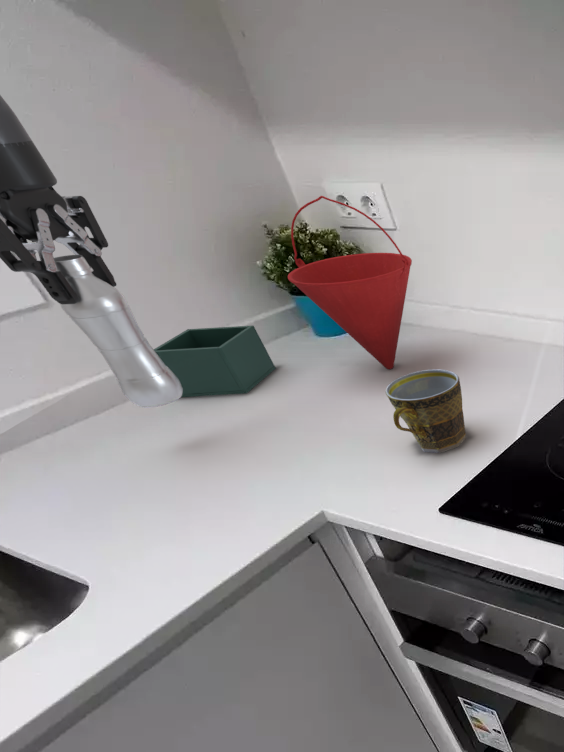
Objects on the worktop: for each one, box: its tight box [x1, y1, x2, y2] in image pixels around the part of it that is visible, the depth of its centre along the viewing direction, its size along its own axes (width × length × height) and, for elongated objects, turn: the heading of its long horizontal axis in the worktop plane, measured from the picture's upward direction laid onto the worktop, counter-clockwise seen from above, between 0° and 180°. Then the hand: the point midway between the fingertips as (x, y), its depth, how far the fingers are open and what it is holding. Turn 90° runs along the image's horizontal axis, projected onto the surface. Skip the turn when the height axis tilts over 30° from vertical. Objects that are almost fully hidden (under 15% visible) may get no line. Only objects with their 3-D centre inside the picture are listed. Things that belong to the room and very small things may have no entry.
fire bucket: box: [287, 195, 413, 370], centre depth 98 cm, size 22×20×30 cm
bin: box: [153, 325, 277, 398], centre depth 101 cm, size 12×11×9 cm
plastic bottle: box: [54, 254, 183, 409], centre depth 75 cm, size 6×7×20 cm
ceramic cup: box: [385, 368, 467, 454], centre depth 81 cm, size 13×10×10 cm
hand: (89, 294), depth 71 cm, fingers closed on plastic bottle, 6 cm apart
